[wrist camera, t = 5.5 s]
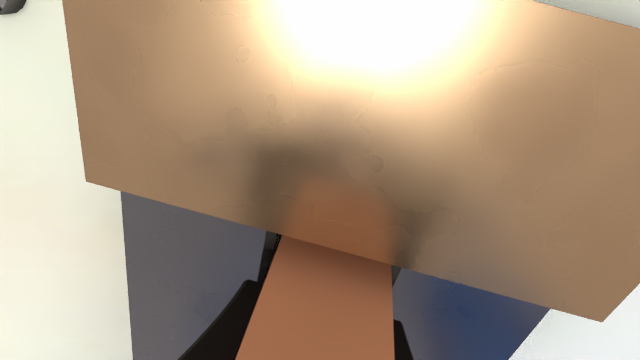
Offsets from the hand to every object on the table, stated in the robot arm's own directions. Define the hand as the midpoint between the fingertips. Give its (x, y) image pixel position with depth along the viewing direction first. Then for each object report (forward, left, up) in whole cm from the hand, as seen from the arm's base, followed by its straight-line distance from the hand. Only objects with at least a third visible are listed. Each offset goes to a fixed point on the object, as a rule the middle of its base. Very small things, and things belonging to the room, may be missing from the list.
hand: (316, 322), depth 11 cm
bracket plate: (0, 0, -5) cm, 5 cm away
